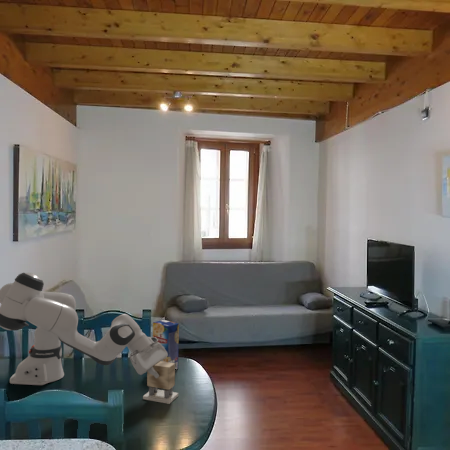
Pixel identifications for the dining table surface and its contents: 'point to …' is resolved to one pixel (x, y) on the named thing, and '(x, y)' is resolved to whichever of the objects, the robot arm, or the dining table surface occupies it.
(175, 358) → the beverage box
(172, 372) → the tan wooden block
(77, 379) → the dining table surface
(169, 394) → the peg stand
